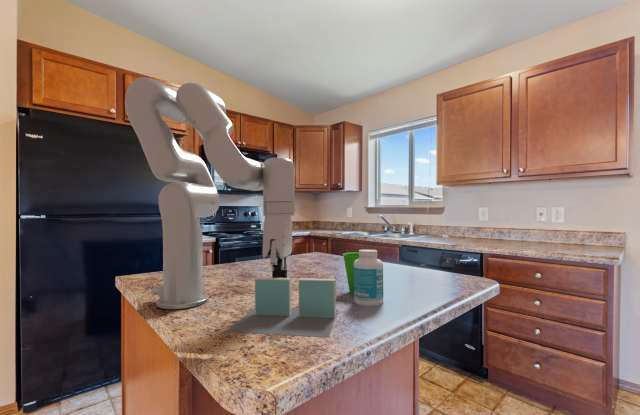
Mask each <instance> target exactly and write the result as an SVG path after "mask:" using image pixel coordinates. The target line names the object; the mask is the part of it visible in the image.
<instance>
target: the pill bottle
mask: <svg viewBox="0 0 640 415" xmlns="http://www.w3.org/2000/svg"><path fill="white" fill-rule="evenodd" d="M358 252H359V256H360V258H359V259H357V260H355V261H354V294H353V302H354V303H356V304H357V305H360V306H365V307H366V306H371V307H372V306H380V305H382V304H383V303H384V263H383V261H382V260H381V259H379V258H378V250H377V249H359V250H358Z"/></svg>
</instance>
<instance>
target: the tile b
mask: <svg viewBox="0 0 640 415" xmlns="http://www.w3.org/2000/svg"><path fill="white" fill-rule="evenodd" d="M297 281H298V308H299V316H301V317H324V318H335V317H337V315H336V310H337V302H336V301H337V296H336V294H337V292H336V290H337V288H336V282H337V280H336V278H307V277H306V278H304V277H299V278H298V280H297ZM335 319H336V318H335Z"/></svg>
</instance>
